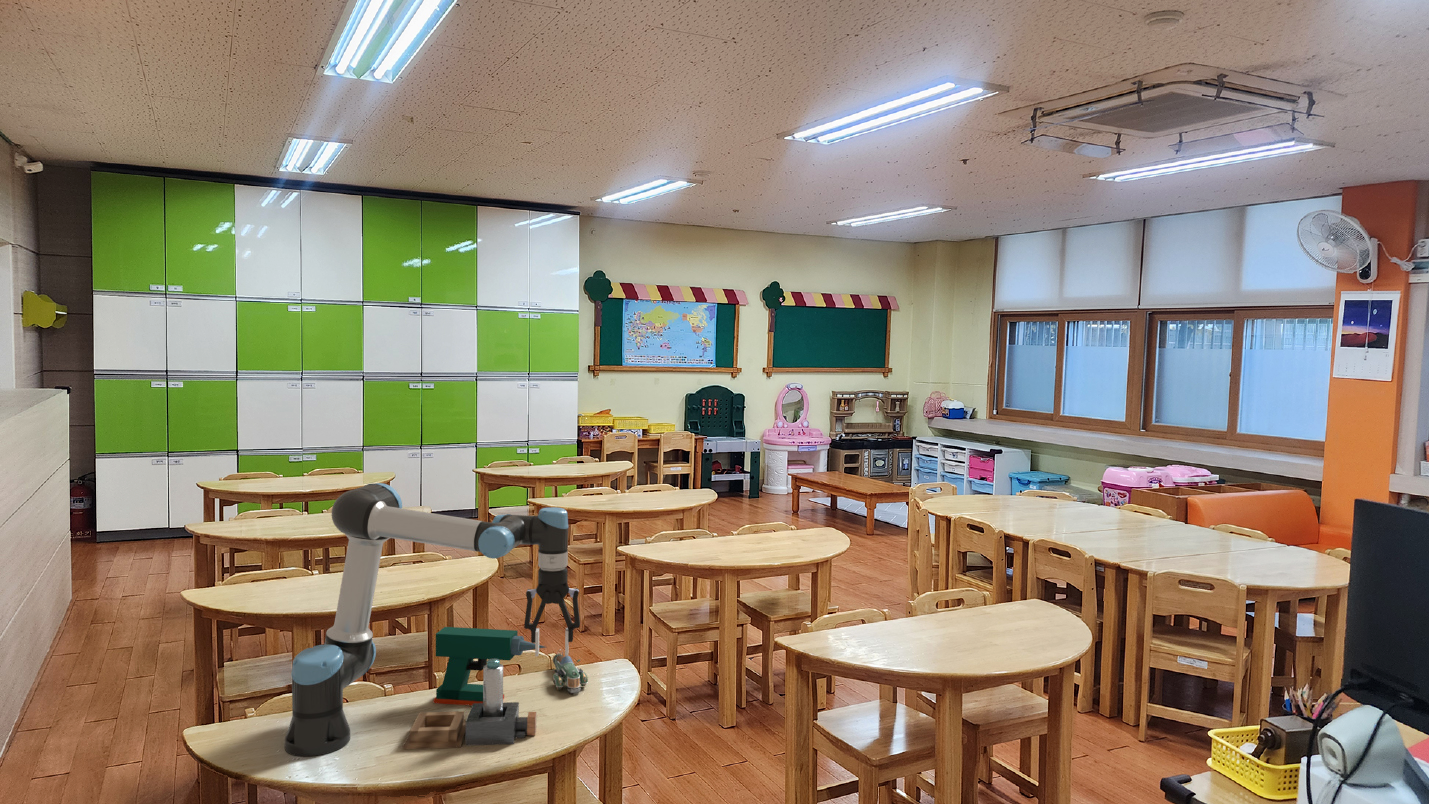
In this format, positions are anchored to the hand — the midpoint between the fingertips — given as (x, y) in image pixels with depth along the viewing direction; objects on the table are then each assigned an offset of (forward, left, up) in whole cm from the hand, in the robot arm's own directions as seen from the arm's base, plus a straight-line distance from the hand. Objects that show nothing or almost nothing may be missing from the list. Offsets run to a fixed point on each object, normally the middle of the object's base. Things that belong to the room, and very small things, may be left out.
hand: (552, 654), depth 228 cm
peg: (-15, 0, -21) cm, 26 cm away
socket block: (-14, 0, -21) cm, 25 cm away
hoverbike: (+2, +37, -21) cm, 43 cm away
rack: (-29, 0, -21) cm, 36 cm away
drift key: (-8, 0, -21) cm, 22 cm away
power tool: (-18, +22, -21) cm, 36 cm away
